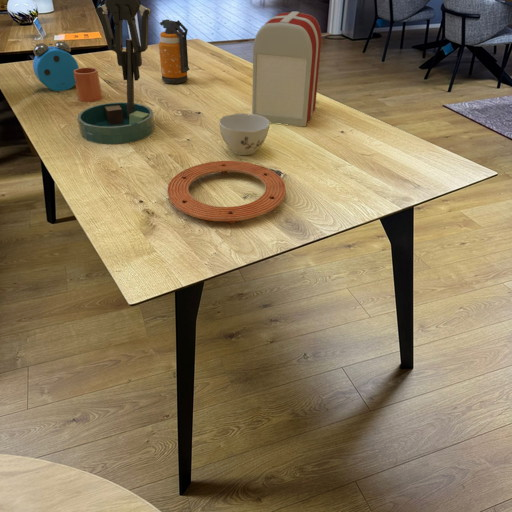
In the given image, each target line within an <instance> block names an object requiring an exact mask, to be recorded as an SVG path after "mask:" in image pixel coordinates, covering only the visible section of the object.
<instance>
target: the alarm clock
mask: <svg viewBox="0 0 512 512" xmlns="http://www.w3.org/2000/svg"><path fill="white" fill-rule="evenodd" d="M71 51H72V49H71V46H70V45H69V44H68V43H67V42H66V41H65V40H64V41H63V40H58V41H56V42H55V43H54V44H53V43H48V44H47V43H44V42H38V43H35V46H34V47H33V54H34V59H33V60H32V61H33V62H32V68H33V74H34V75H35V77H36V78H37V80H38V81H39V82H40V83H41V84H42V85H44V86H45V87H46V88H47V89H48V90H51V91H54V92H64V91H69V90H71V89H73V88H74V86H76V83H75V78H74V73H73V71H74V70H75V69H79V68H80V66H79V64H78V62H77V60H76V58H75V57H74V56H73V55H72V54H70V52H71Z"/></svg>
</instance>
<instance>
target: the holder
mask: <svg viewBox="0 0 512 512" xmlns="http://www.w3.org/2000/svg"><path fill="white" fill-rule="evenodd" d="M73 73H74V78H75V83H76V84H75V87H76V93H77V98H78V101H79V102H83V103H94V102H98V101H100V100H102V99H103V92H102V87H101V81H100V75H99V69H98V68H96V67H79V69H75V70H74V71H73Z"/></svg>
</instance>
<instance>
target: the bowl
mask: <svg viewBox="0 0 512 512" xmlns="http://www.w3.org/2000/svg"><path fill="white" fill-rule="evenodd" d="M114 105H119V106H120V107H121V109H122V112H123V119H124V123H121V124H114V125H110V124H109V123H108V121H107V118H106V112H105V107H106V106H114ZM135 111H140V112H144V113H148V114H150V115H149V116H148V117H147V118H146V119H144V120H142V121H140V122H137V123H134V124H130V125H129V119H128V118H127V101H118V102H117V101H116V102H107V103H100V104H95V105H93V106H89V107H87V108H85V109H83V110H81V111H80V112H79V113H78V114H77V118H76V119H77V123H78V128H79V132H80V135H81V137H82V138H83V139H84V140H86V141H88V142H90V143H93V144H99V145H124V144H130V143H135V142H137V141H141V140H144V139H146V138H147V137H149V136H151V135H152V134H153V133H154V131H155V121H154V112H153V109H151V108H150V107H149V106H148V105H145V104H142V103H138V102H134V112H135Z"/></svg>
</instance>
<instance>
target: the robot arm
mask: <svg viewBox="0 0 512 512" xmlns="http://www.w3.org/2000/svg"><path fill="white" fill-rule="evenodd" d="M108 11H109V12H110V14H111V15H112V17H113V23H114V34H113V30H112V26H111V22H110V18H109V15H108V13H109V12H108ZM95 12H96V14H97V15H98V17H99V19H100V23H101V27H102V30H103V34H104V38H105V42H106V45H107V48H108V50H109V51H113V52H115V54H116V59H117V60H116V61H117V65H118V66H119V67H121V70H122V71H121V72H122V78H123V81H127V72H126V50H124V45H123V44H124V43H123V42H124V40H123V38H124V37H123V21H126V23H127V26H128V28H129V29H128V30H129V34H130V39H132V44H133V53H132V63H133V71H134V82H135V81H136V82H138V81H139V79H141V76H140V67H141V66H142V65H143V60H142V53H144V52H146V51H147V50H148V48H149V18H150V16H151V13H152V8H150V7H146V6H144V5H142V3H141V1H140V0H104V4H102V5H99V6H98V7H96V8H95ZM138 12H139V14H140V16H141V21H140V24H141V25H140V38H139V32H138V28H137V21H136V15H137V14H138Z"/></svg>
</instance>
